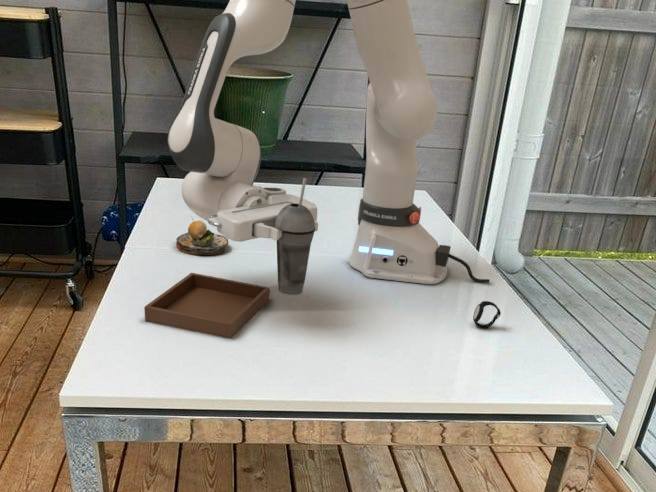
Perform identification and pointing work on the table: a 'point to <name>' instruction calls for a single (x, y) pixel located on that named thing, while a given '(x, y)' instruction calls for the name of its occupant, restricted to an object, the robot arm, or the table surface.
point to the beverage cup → (294, 245)
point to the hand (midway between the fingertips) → (298, 231)
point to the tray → (208, 305)
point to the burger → (201, 240)
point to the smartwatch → (479, 313)
